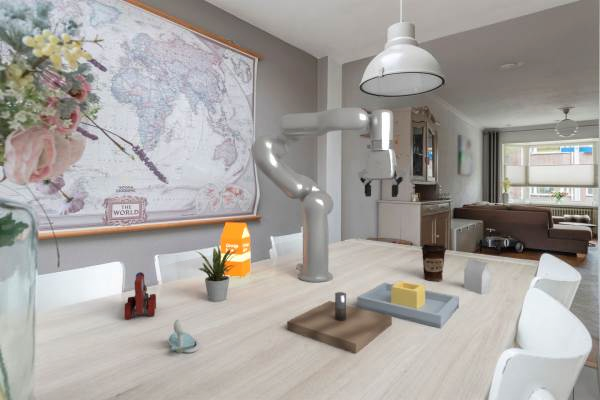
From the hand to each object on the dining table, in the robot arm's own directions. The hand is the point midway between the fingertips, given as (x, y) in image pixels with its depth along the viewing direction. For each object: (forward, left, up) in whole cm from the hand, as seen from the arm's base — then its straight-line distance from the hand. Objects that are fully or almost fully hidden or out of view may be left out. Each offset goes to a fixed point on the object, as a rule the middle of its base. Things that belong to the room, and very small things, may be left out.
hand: (381, 196), depth 114 cm
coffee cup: (+13, +17, -31) cm, 37 cm away
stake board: (+8, -40, -30) cm, 51 cm away
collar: (+16, -17, -29) cm, 37 cm away
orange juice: (-49, -23, -31) cm, 62 cm away
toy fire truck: (-38, -65, -31) cm, 81 cm away
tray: (+16, -17, -30) cm, 38 cm away
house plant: (-30, -45, -31) cm, 62 cm away
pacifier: (-12, -69, -31) cm, 76 cm away
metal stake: (+8, -40, -28) cm, 50 cm away
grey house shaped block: (+28, +12, -31) cm, 43 cm away
